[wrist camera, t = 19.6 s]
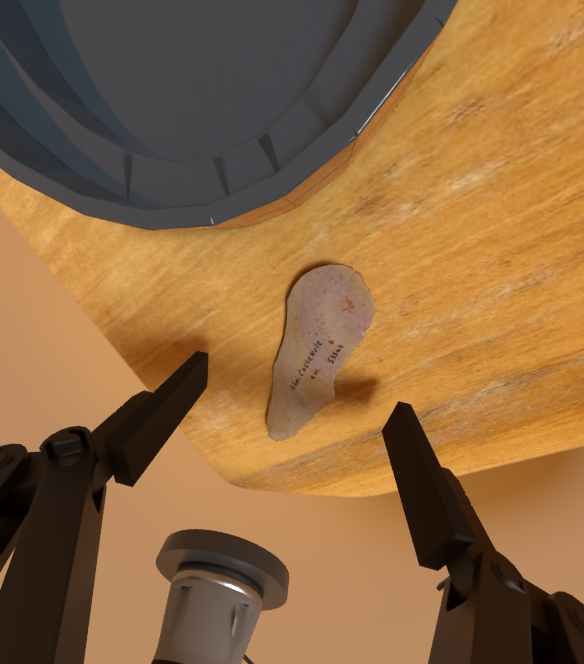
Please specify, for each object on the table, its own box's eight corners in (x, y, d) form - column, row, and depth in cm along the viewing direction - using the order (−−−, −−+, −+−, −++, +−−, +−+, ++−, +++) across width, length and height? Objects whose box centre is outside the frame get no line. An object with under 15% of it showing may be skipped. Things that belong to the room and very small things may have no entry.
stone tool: (308, 444, 19) (394, 279, 12) (302, 460, 18) (394, 284, 11) (258, 414, 20) (309, 248, 13) (248, 426, 19) (300, 249, 12)
